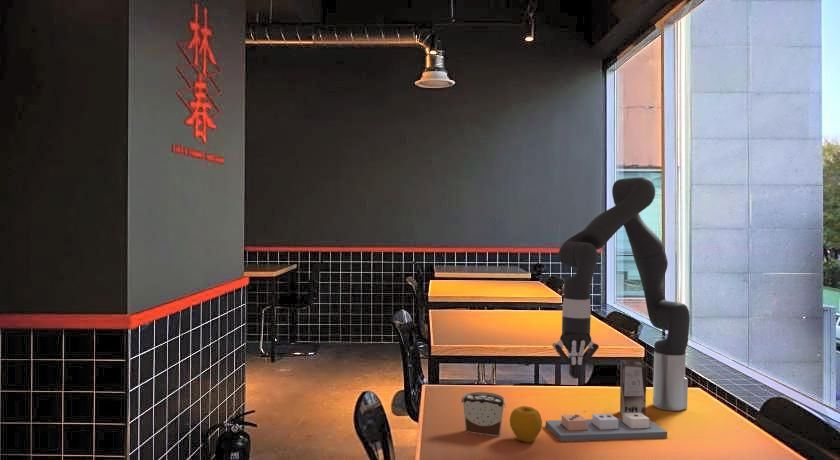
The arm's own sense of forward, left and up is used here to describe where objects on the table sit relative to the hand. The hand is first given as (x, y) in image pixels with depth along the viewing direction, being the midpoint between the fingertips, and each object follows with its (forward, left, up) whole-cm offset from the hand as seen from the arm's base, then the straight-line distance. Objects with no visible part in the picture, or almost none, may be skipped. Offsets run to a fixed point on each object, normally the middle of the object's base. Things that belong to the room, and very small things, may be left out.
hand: (574, 377), depth 170 cm
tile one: (-18, 0, -14) cm, 23 cm away
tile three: (0, 0, -14) cm, 14 cm away
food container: (+24, -4, -16) cm, 29 cm away
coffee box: (-23, -12, -16) cm, 30 cm away
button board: (-9, 0, -15) cm, 18 cm away
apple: (+15, +4, -16) cm, 22 cm away
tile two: (-9, 0, -14) cm, 16 cm away
